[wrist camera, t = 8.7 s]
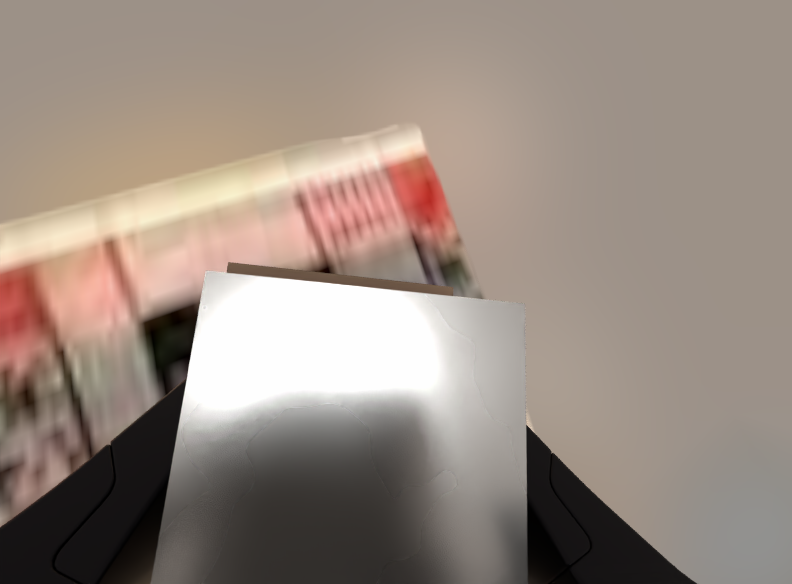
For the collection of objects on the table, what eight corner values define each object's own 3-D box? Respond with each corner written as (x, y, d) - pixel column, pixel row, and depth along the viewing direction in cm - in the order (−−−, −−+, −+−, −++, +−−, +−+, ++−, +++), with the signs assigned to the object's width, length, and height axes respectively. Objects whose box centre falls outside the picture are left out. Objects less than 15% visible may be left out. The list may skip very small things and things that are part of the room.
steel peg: (383, 444, 15) (528, 653, 4) (275, 442, 14) (131, 691, 4) (390, 340, 16) (525, 304, 5) (289, 332, 15) (205, 270, 4)
